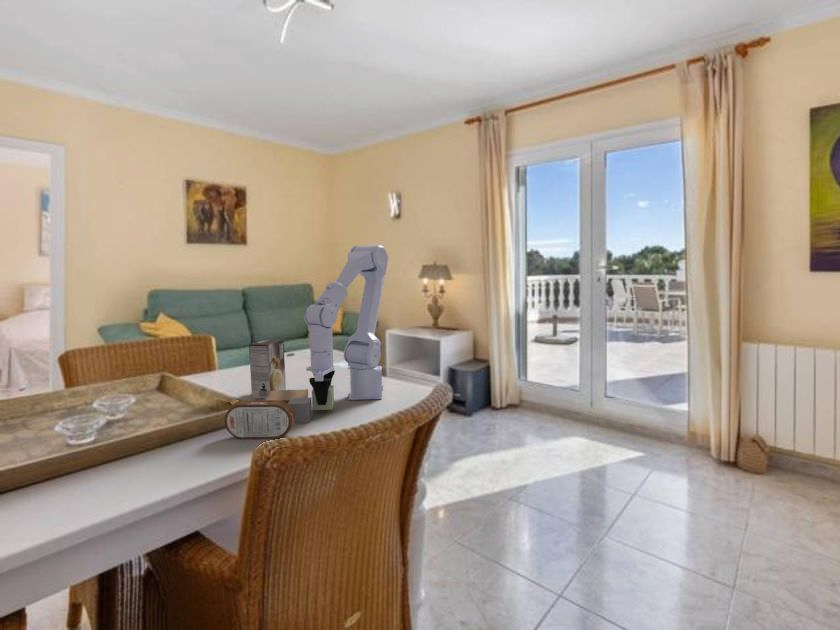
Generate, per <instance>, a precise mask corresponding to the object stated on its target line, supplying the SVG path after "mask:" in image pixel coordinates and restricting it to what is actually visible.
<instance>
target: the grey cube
mask: <svg viewBox="0 0 840 630" xmlns="http://www.w3.org/2000/svg"><path fill="white" fill-rule="evenodd" d="M288 405H289V406H290V407H291V408H292V410H293V412H294V415H295V422H294V424H309V423H310V422H311V420H312V417H313V412H312V411H313V410H312V397H308V398H291V399H290V401H289V402H288Z"/></svg>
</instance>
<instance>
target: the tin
mask: <svg viewBox="0 0 840 630" xmlns="http://www.w3.org/2000/svg"><path fill="white" fill-rule="evenodd" d="M294 422H295V415H294V412H293V410H292V408H291V407H290V406H289V405H288V404H287V403H285V402H283V401H279V400H265V399H264V400H263V399H260V400H259V399H255V400H253V399H252V400H251V399H250V400H249V399H245V400H244V399H242V400H237V401H236V402H234V403H233V404H232V405H231V406H230V407H229V409H228V410H227V411H226V413H225V415H224V426H225V429H226V431H228V433H229V434H230V435H231V436H232V437H235V438H237V439H240V440H257V439H258V440H259V439H262V440H265V439H268V440H270V439H271V440H272V439H273V440H274V439H276V438H277V439H281V438H284V437H285V436H286V435H287V434H288V433H290V430H292V428H293V427H294Z"/></svg>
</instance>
